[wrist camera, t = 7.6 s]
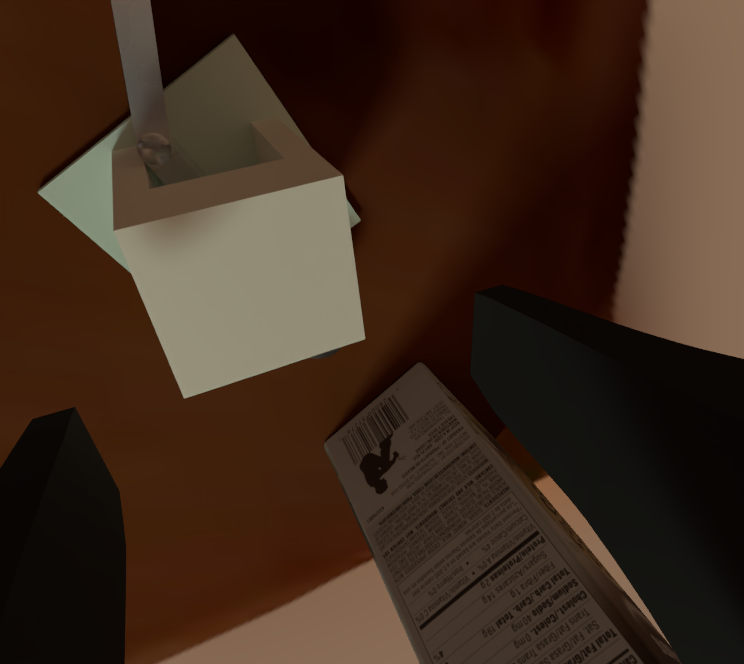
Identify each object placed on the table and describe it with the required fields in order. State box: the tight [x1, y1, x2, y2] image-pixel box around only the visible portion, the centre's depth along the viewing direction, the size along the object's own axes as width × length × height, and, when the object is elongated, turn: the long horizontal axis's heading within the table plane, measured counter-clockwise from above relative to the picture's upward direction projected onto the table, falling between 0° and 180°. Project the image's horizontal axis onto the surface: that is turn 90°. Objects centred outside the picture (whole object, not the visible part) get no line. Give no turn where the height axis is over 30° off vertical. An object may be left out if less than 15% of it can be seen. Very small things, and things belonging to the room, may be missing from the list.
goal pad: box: [38, 34, 361, 273], centre depth 17 cm, size 7×7×1 cm
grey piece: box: [111, 0, 341, 358], centre depth 14 cm, size 6×19×3 cm, turn 177°
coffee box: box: [324, 362, 682, 664], centre depth 21 cm, size 9×6×16 cm
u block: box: [112, 117, 365, 399], centre depth 15 cm, size 4×5×6 cm
